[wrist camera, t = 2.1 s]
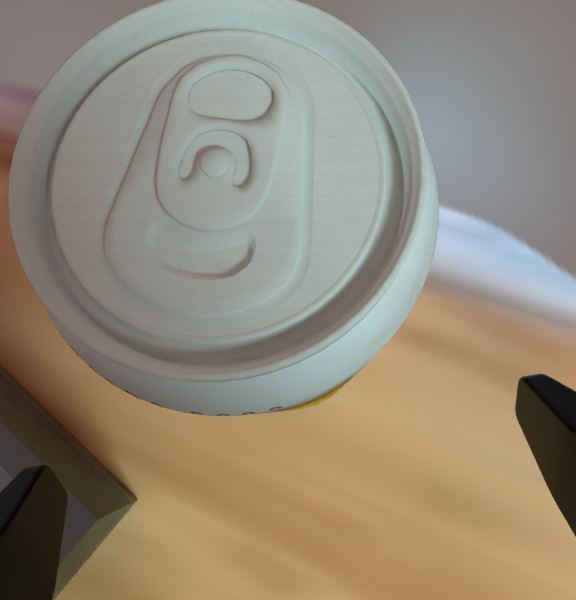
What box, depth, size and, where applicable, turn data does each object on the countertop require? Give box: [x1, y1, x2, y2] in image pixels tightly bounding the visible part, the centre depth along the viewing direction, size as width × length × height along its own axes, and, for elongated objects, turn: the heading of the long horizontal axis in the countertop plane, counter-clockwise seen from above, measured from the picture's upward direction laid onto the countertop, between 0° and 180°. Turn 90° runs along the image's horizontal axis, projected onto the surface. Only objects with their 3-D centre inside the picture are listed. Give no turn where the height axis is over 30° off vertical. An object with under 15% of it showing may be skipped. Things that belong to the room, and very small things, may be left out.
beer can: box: [8, 0, 439, 416], centre depth 13 cm, size 6×6×15 cm
